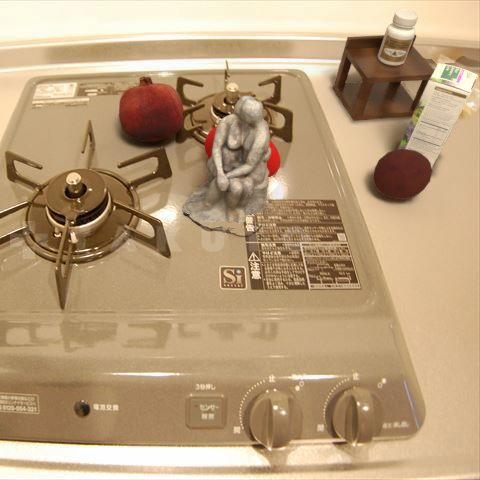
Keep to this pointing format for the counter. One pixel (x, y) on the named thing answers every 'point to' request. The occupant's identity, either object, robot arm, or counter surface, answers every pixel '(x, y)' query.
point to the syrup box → (438, 110)
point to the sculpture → (234, 169)
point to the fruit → (150, 111)
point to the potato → (402, 174)
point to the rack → (379, 80)
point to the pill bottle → (398, 38)
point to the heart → (272, 162)
